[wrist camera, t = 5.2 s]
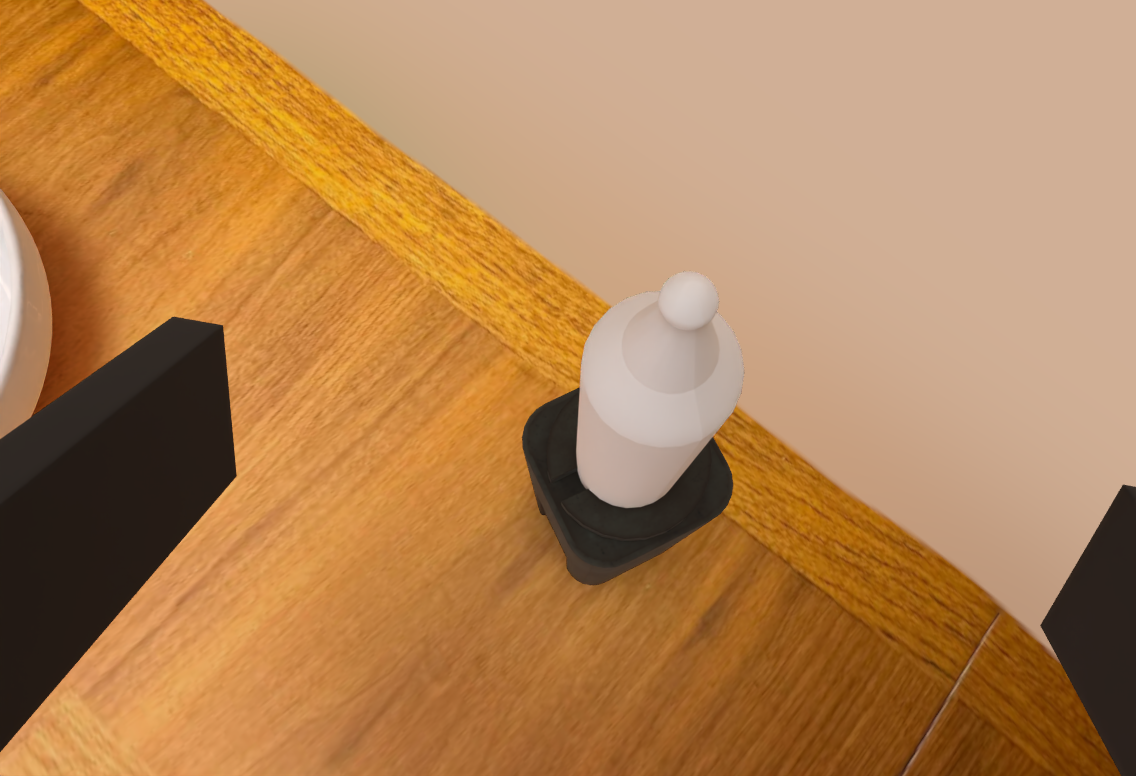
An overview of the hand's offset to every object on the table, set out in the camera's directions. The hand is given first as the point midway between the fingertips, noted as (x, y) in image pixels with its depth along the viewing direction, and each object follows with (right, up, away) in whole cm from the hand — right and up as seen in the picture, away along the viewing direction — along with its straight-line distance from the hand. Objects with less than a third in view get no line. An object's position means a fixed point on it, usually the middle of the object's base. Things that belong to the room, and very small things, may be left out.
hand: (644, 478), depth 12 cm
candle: (0, -4, +23) cm, 24 cm away
